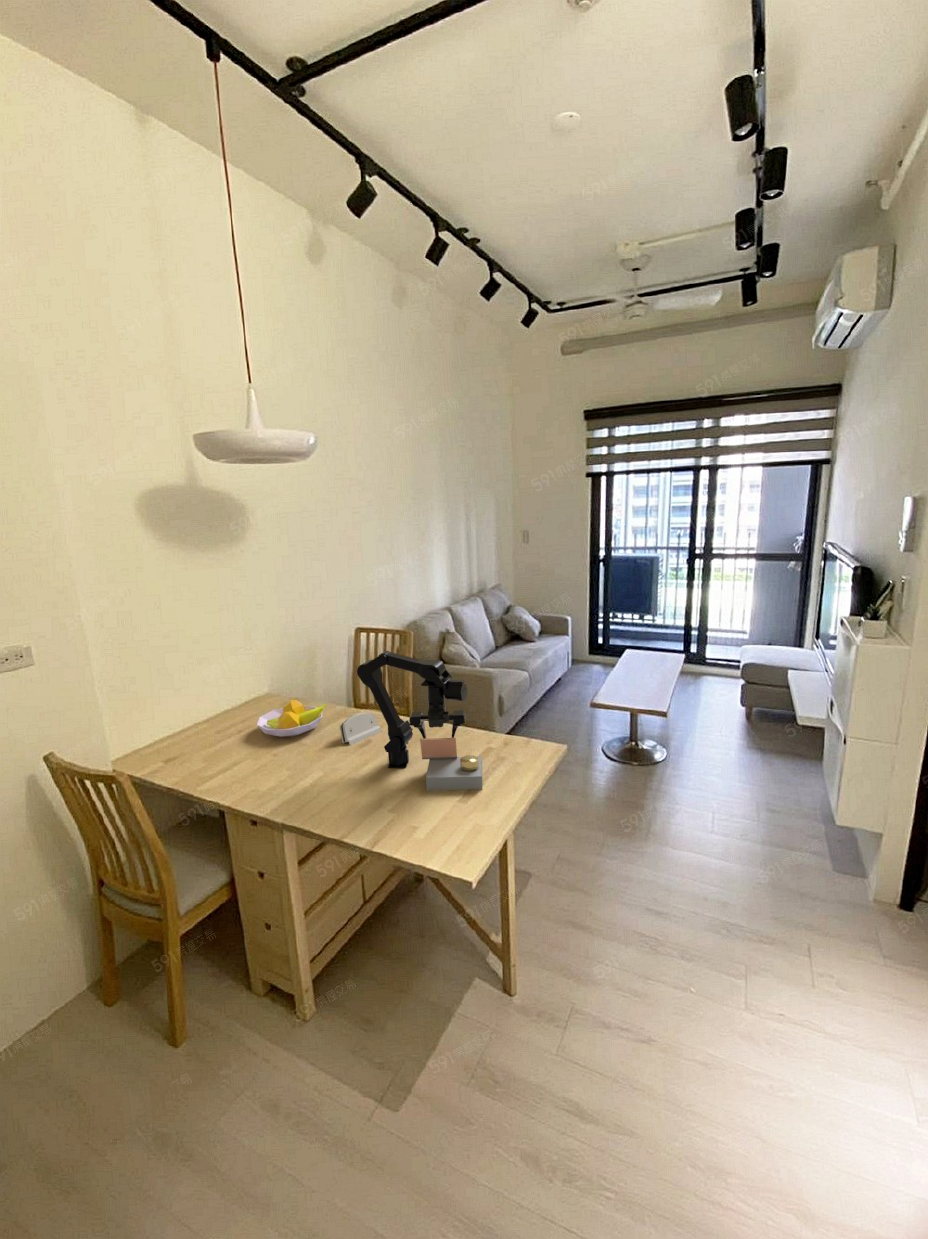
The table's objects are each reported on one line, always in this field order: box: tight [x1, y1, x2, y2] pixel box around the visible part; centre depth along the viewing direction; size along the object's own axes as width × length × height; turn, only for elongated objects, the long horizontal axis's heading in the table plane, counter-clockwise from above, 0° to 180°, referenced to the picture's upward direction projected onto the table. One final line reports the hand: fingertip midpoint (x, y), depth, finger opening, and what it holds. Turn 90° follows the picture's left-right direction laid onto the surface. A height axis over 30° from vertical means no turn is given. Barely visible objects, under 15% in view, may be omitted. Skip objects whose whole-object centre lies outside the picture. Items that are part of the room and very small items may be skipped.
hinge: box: [339, 712, 383, 746], centre depth 221 cm, size 17×5×10 cm, turn 139°
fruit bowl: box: [256, 699, 327, 737], centre depth 230 cm, size 28×27×11 cm
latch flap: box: [419, 737, 458, 760], centre depth 187 cm, size 12×1×9 cm, turn 88°
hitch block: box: [425, 755, 483, 791], centre depth 184 cm, size 18×14×4 cm
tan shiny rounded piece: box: [460, 754, 479, 772], centre depth 182 cm, size 6×6×7 cm
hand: (439, 741), depth 189 cm, fingers open, 9 cm apart
